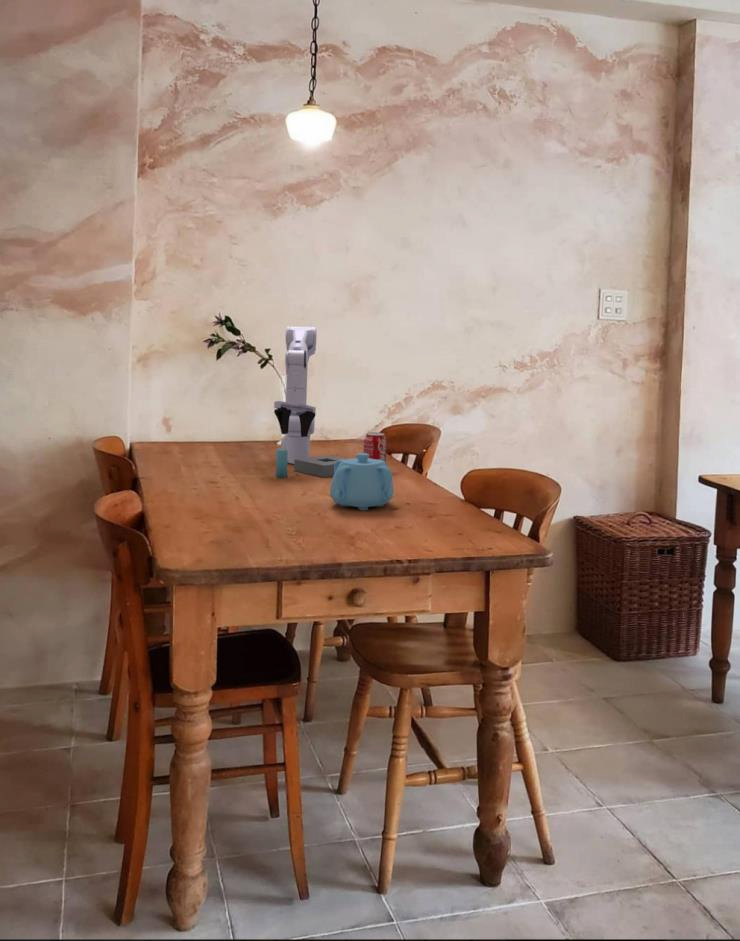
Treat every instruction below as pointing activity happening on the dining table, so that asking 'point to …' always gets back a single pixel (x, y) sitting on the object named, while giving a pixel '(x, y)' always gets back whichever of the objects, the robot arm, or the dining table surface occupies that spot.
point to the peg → (281, 462)
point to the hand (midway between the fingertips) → (294, 435)
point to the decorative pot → (362, 482)
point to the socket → (317, 465)
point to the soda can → (375, 445)
